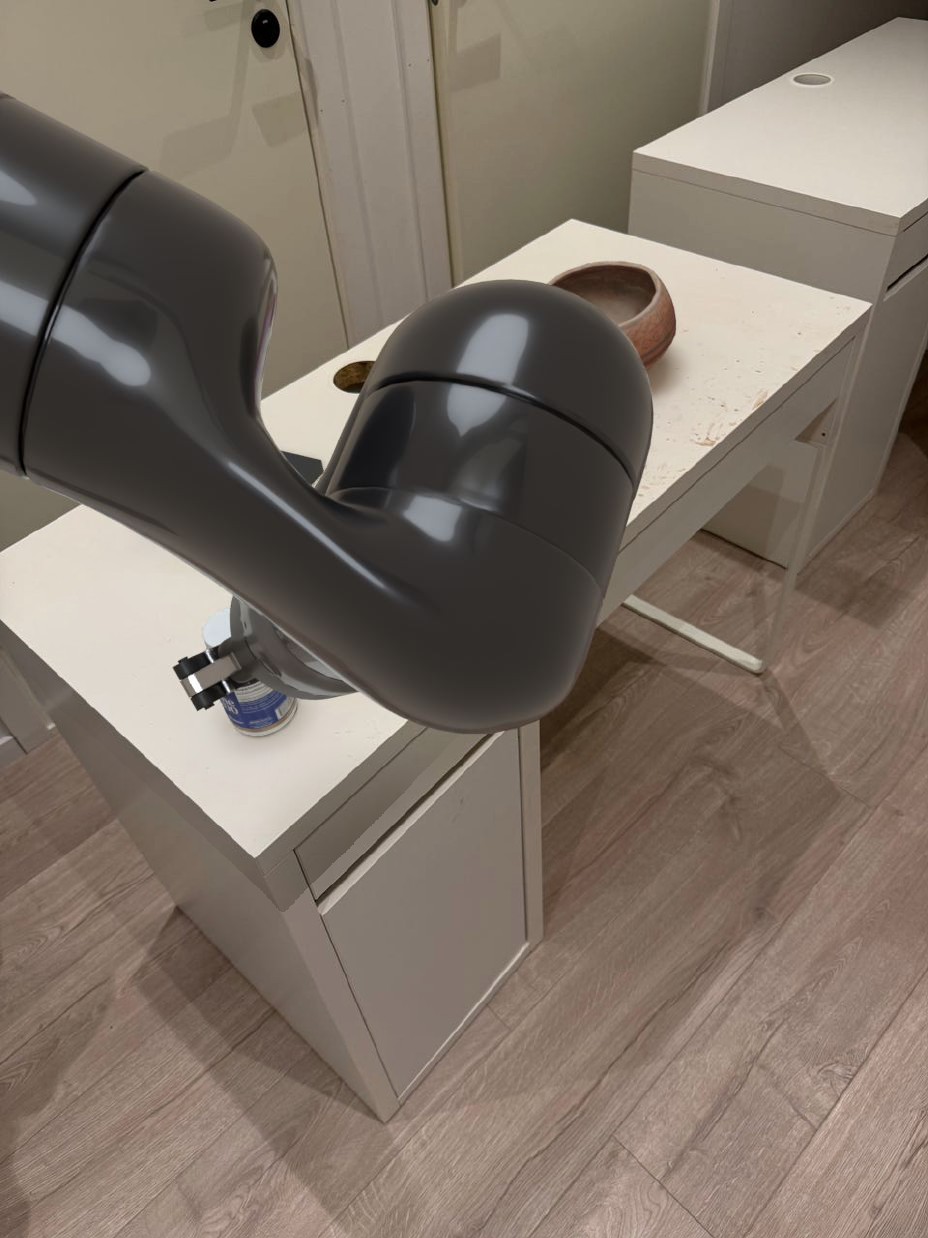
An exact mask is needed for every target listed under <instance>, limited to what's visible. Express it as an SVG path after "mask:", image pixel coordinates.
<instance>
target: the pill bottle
mask: <svg viewBox="0 0 928 1238" xmlns="http://www.w3.org/2000/svg"><path fill="white" fill-rule="evenodd" d="M201 636H202V640H203V643H204V645H205V650H207V649H209V648H213V647H215V646H217V645H220V644H221V643H222V642H223V641H224V640H226V639H227V638H229V637H231V632H230V607H227V608H223V609H221V610H218V611H217V612H215V613H214V614H212V615H211V616H210V617H209V618H208V619H206V621H205V623H204V624H203V626H202V629H201ZM219 701H220V703H221V705H222V707H223V709H224V711H225V713H226V715H227V718H228V720H229V722H230V723H231V725H232V726H233V728H234V729H236V730H237V731H238V732H239V733H241V734H243V735H245V736H250V737H251V736H253V737H262V736H267V735H270V734H274V733H275V732H277V731H279V730H281V729H282V728H283V727H285V726H286V725H287V724H288V723H289V722H291V720H292V718H293V717H294V714H295V713H296V710H297V705H298V698H293V697H290V696H286V695H284V694H281V693H279V692H277V691H275V690H273V689H271V688H269V687H268V686H266V685H265V684H263V683H262V682H260V681H259V680H258V681H256V682H255V683H253V684H251V685H250V684H249V683H247V684H245V685H244V686H242V687H240V688H238V689H237V690H235V691H233V692H231V693H230V694H228V695H226V696H224V697H222V698H221V699H219Z"/></svg>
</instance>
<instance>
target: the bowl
mask: <svg viewBox="0 0 928 1238" xmlns="http://www.w3.org/2000/svg"><path fill="white" fill-rule="evenodd" d="M546 284H549V285H553V286H557V287H559V288H562V289H565V290H567V291H570V292H572V293H574V294H576V295H578V296H580V297H582V298H583V299H585V300H587V301H588V302H590V303H592V304H593V305H595V306H597V307H598V308H599V309H600V310H601V311H603V312H604V313H605V314H606V315H607V316H609V317H610V318H611V319H612V320H613V321H614V322H615V323H616V324H617V325H618V326H619V327H620V328H621V329H622V330H623V331H624V332H625V334H626V335H627V336H628V338H629V339H630V340H631V342H632V343H633V345H634V347H635V348H636V350H637V352H638V354H639V356H640V358H641V360H642V363H643V365H644V367H645V370H646V371H647V370H648V369H650V368H651V367H653V366H654V365H656V364H657V363H658V361H660V360H661V359H662V358H663V356H664V355H665V354H666V352H667V351H668V349H669V347H670V346H671V344H672V343H673V341H674V338H675V336H676V334H677V333H676V332H677V317H676V310H675V306H674V303H673V300H672V297H671V295H670V293H669V290H668V289H667V286H666V285H665V283H664V281H663V280H662V279H661V277H660V276H659V275H658V274H657V273H656V272H655V271H654V270H653V269H651V268H650V267H648V266H645V265H643V264H640V263H637V262H636V263H635V262H630V261H626V260H625V261H623V260H603V261H594V262H587V263H585V264H582V265H579V266H575V267H573V268H569V269H567V270H565V271H563V272H561V273H559V274H557V275H555V276H554V277H553V278H551V280H549V281H548V282H546Z"/></svg>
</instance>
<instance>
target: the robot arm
mask: <svg viewBox="0 0 928 1238" xmlns="http://www.w3.org/2000/svg"><path fill="white" fill-rule="evenodd" d="M278 282H279V281H278V272H277V268H276V263H275V260H274V257H273V255H272V253H271V251H270V248H269V247H268V245H267V243H265V241H264V239H262V237H261V236H260V235H259V234H258V233H257V232H256V231H255V230H254V229H253V228H252V227H251V226H250V225H249V224H247V223H246V221H244V220H242V219H240V218H239V217H238V216H237V215H235V214H233V213H232V212H230V211H229V210H228V209H226V208H224V207H223V206H221V205H220V204H217V203H215V202H214V201H212V200H211V199H208V198H207V197H205V196H203V195H201V194H200V193H198V192H196V191H194V190H193V189H191V188H189V187H186V186H185V185H183V184H181V183H179V182H178V181H176V180H175V179H172V178H171V177H168V176H166V175H164V174H162V173H161V172H158V171H156V170H150V168H149V167H148V166H147V165H144V164H142V163H141V162H138V161H137V160H135V159H132V158H131V157H129V156H127V155H125V154H123V153H121V152H119V151H117V150H116V149H113V148H112V147H109V146H108V145H105V144H104V143H102V142H100V141H98V140H96V139H94V138H92V137H91V136H88V135H86V133H85V134H84V133H83V132H81V131H79V130H77V129H75V128H73V127H71V126H70V125H67V124H65V123H63V122H62V121H60V120H57V119H56V118H54V117H52V116H50V115H48V114H46V113H45V112H43V111H41V110H38V109H36V108H35V107H33V106H31V105H29V104H27V103H26V102H22V101H21V100H18V99H17V98H16V97H14V96H12V95H10V94H8V93H6V92H4V91H2V90H0V470H1V471H3V472H6V473H8V474H11V475H13V476H15V477H18V478H21V479H23V480H30V481H31V482H32V483H33V484H34V485H36V486H39V487H41V488H44V489H46V490H49V491H51V492H54V493H56V494H58V495H61V496H63V497H65V498H68V499H70V500H72V501H74V502H76V503H79V504H81V505H82V506H85V507H86V508H89V509H90V510H93V511H95V512H97V513H99V514H100V515H103V516H105V517H107V518H109V519H111V521H115V522H116V523H118V524H120V525H122V526H123V527H125V528H127V529H129V530H130V531H132V532H133V533H136V534H138V535H140V536H141V537H142V538H144V539H146V540H147V541H150V542H151V543H153V544H155V545H156V546H158V547H159V548H161V549H163V550H164V551H166V552H168V553H169V554H171V555H173V556H174V557H176V558H177V559H179V560H180V561H182V562H183V563H185V564H186V565H188V566H189V567H190V568H192V569H193V570H195V571H197V572H198V573H199V574H201V575H203V576H204V577H206V578H207V579H209V580H210V581H212V582H213V583H215V584H216V585H217V586H219V587H221V588H222V589H224V590H225V591H226V592H227V593H229V594H230V595H231V601H230V605H229V606H230V607H229V608H230V632H231V637H229V638H227V639H226V640H224V641H223V642H222V643H221V644H220V645H217V646H215V647H213V648H209V649H207V650H206V649H205V650H203V651H201V652H199V653H197V654H195V655H193V656H190V657H189V656H184V657H182V658H180V659H178V660H177V664H175V665H173V666H172V670H173V672H174V673H175V675H176V677H177V679H178V680H179V683H180V685H181V686H182V689H183V690H184V692H185V693H186V695H187V697H188V698H189V699H190V701H191V703H192V705H193V706H194V708H195V710H196V711H197V712H199V711H201V710H202V709H204V710H205V711H207V710H209V709H211V708H213V707H214V706H215V705H216V704H215V702H217V701H220V699H221V698H222V697H224V696H226V695H228V694H230V693H231V692H233V691H235V690H237V689H238V688H240V687H242V686H244V685H245V684H247V683H249V684H250V685H251V684H253V683H255V682H256V681H258V680H259V681H260V682H262V683H263V684H265V685H266V686H268V687H269V688H271V689H273V690H275V691H277V692H279V693H281V694H284V695H286V696H290V697H293V698H296V699H297V700H298V699H299V700H306V701H323V700H329V699H334V698H338V697H345V696H349V695H352V694H359V693H360V694H362V695H364V697H366V698H368V699H369V700H371V701H372V702H373V703H375V704H377V705H378V706H379V707H381V708H383V709H386V710H387V711H388V712H391V713H393V714H394V715H397V716H398V717H400V718H402V719H405V720H407V721H409V722H412V723H414V724H417V725H420V726H422V727H426V728H429V729H432V730H437V731H440V732H443V733H451V734H457V735H458V734H459V735H491V734H496V733H502V732H508V731H514V730H517V729H520V728H522V727H525V726H528V725H530V724H532V723H535V722H538V721H540V720H541V719H543V718H544V717H546V716H547V715H549V714H550V713H552V712H553V711H554V710H556V709H558V707H559V706H560V705H562V703H563V702H564V701H565V700H566V699H567V698H568V696H569V695H570V694H571V692H572V691H573V689H574V687H575V685H576V683H577V681H578V679H579V677H580V675H581V673H582V670H583V668H584V666H585V664H586V660H587V657H588V655H589V651H590V648H591V645H592V642H593V638H594V635H595V632H596V629H597V627H598V626H597V625H598V622H599V619H600V616H601V612H602V609H603V606H604V600H605V599H606V596H607V593H608V589H609V585H610V582H611V578H612V575H613V572H614V568H615V566H616V562H617V558H618V555H619V552H620V550H621V549H620V548H621V546H622V543H623V539H624V535H625V532H626V529H627V524H628V521H629V517H630V515H631V511H632V509H633V505H634V501H635V499H636V497H637V494H638V491H639V488H640V485H641V481H642V478H643V474H644V471H645V468H646V465H647V460H648V455H649V452H650V449H651V445H652V438H653V437H652V436H653V429H654V419H655V415H654V414H655V413H654V400H653V392H652V391H653V390H652V386H651V381H650V379H649V375H648V373H647V369H646V370H645V367H644V365H643V363H642V360H641V358H640V356H639V354H638V352H637V350H636V348H635V347H634V345H633V343H632V342H631V340H630V339H629V338H628V336H627V335H626V334H625V332H624V331H623V330H622V329H621V328H620V327H619V326H618V325H617V324H616V323H615V322H614V321H613V320H612V319H611V318H610V317H609V316H607V315H606V314H605V313H604V312H603V311H601V310H600V309H599V308H598V307H597V306H595V305H593V304H592V303H590V302H588V301H587V300H585V299H583V298H582V297H580V296H578V295H576V294H574V293H572V292H570V291H567V290H565V289H562V288H559V287H557V286H553V285H549V284H547V283H546V282H539V281H534V280H527V279H513V278H511V279H509V278H508V279H507V278H506V279H493V280H491V279H490V280H483V281H479V282H474V283H469V284H464V285H462V286H460V287H456V288H453V289H451V290H449V291H446V292H443V293H441V294H439V295H437V296H436V297H434V298H432V299H430V300H428V301H427V302H425V303H423V304H422V305H420V306H418V307H417V308H416V309H415V310H413V311H412V312H410V314H408V315H407V316H406V317H405V318H404V319H403V320H402V321H401V322H400V323H399V324H398V325H397V326H396V327H395V329H394V330H393V331H392V332H391V333H390V335H389V336H388V337H387V339H386V341H385V343H384V344H383V346H382V348H381V349H380V352H379V353H378V355H377V356H376V358H375V361H374V363H373V364H372V367H371V368H370V371H369V373H368V375H367V377H366V379H365V381H364V383H363V385H362V388H361V389H360V391H359V394H358V396H357V399H356V400H355V403H354V404H353V407H352V409H351V411H350V414H349V416H348V418H347V420H346V422H345V425H344V426H343V429H342V431H341V434H340V435H339V438H338V440H337V443H336V445H335V448H334V450H333V452H332V454H331V457H330V459H329V461H328V463H327V465H326V468H325V470H324V471H323V472H322V474H321V475H320V477H319V479H318V481H317V483H316V484H315V485H314V486H312V484H311V485H310V484H309V483H308V482H307V481H306V480H305V479H304V478H303V477H302V476H301V475H300V474H299V473H298V472H297V470H296V469H295V468H294V467H293V466H292V465H291V464H290V463H289V462H288V460H287V459H286V458H285V456H284V455H283V453H282V452H281V451H282V450H281V451H280V447H279V446H278V445H277V444H276V442H275V440H274V439H273V437H272V436H271V434H270V432H269V431H268V429H267V426H266V425H265V422H264V419H263V417H262V416H263V415H262V408H261V404H262V387H263V382H264V377H265V369H266V365H267V360H268V354H269V350H270V346H271V341H272V335H273V330H274V325H275V320H276V314H277V307H278V306H277V305H278V293H279V284H278Z"/></svg>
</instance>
